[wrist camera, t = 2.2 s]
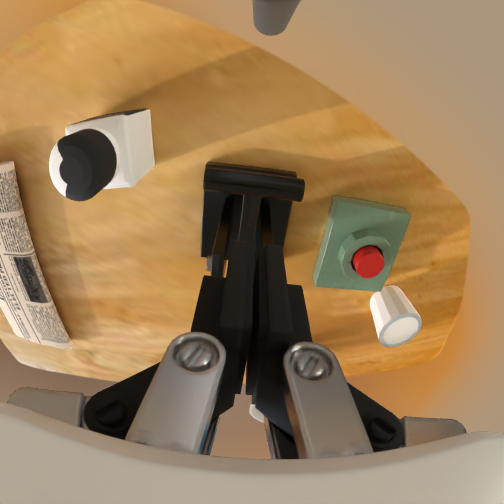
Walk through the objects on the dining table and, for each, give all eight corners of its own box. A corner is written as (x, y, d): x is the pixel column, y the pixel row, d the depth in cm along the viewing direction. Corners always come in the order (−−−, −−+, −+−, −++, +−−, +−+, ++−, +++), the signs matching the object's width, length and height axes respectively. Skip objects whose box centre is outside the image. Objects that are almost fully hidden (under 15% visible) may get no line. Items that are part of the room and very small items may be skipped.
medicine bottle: (150, 107, 29) (99, 122, 19) (156, 166, 33) (113, 208, 22) (96, 116, 29) (34, 138, 19) (103, 171, 33) (49, 212, 22)
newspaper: (75, 341, 50) (69, 351, 48) (12, 325, 50) (7, 333, 47) (18, 159, 31) (6, 165, 28) (-43, 171, 30) (-53, 177, 28)
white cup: (411, 281, 41) (429, 312, 35) (398, 314, 44) (412, 345, 38) (372, 281, 41) (387, 314, 35) (361, 316, 44) (372, 349, 38)
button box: (333, 194, 34) (342, 208, 31) (404, 208, 35) (417, 221, 31) (312, 276, 40) (316, 295, 37) (376, 282, 41) (385, 300, 38)
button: (357, 243, 33) (361, 251, 32) (383, 247, 34) (388, 255, 32) (349, 268, 35) (352, 277, 34) (374, 271, 35) (378, 279, 34)
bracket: (207, 161, 32) (181, 205, 21) (295, 172, 33) (316, 221, 22) (202, 252, 39) (182, 322, 28) (278, 260, 39) (286, 333, 28)
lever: (208, 157, 18) (201, 183, 17) (303, 169, 18) (305, 196, 17) (209, 259, 28) (206, 282, 27) (273, 266, 28) (272, 289, 27)
